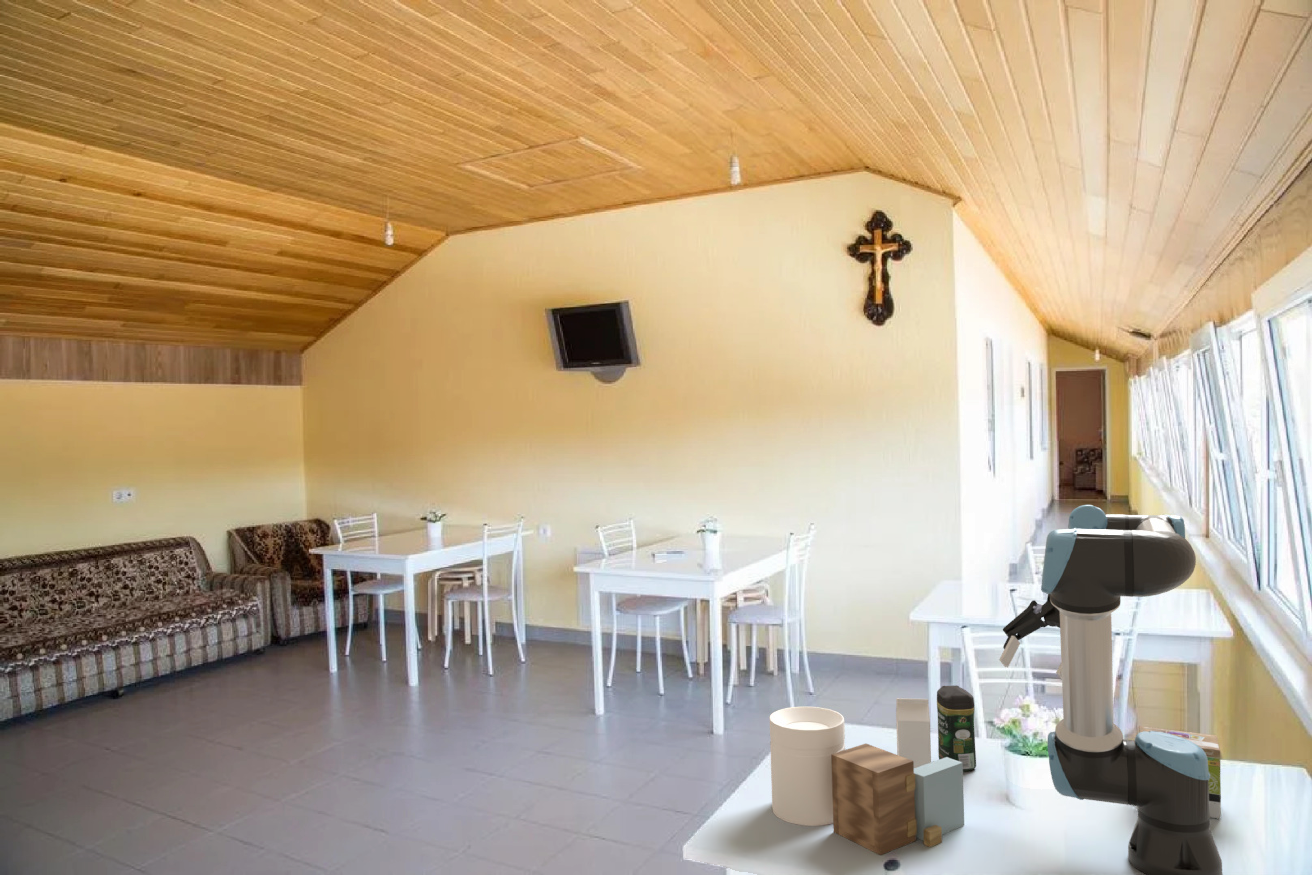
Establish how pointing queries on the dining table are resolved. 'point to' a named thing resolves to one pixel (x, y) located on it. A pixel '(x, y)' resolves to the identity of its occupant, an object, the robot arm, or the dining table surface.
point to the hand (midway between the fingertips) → (1031, 670)
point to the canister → (804, 763)
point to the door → (939, 796)
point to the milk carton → (913, 730)
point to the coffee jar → (956, 726)
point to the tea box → (1213, 755)
